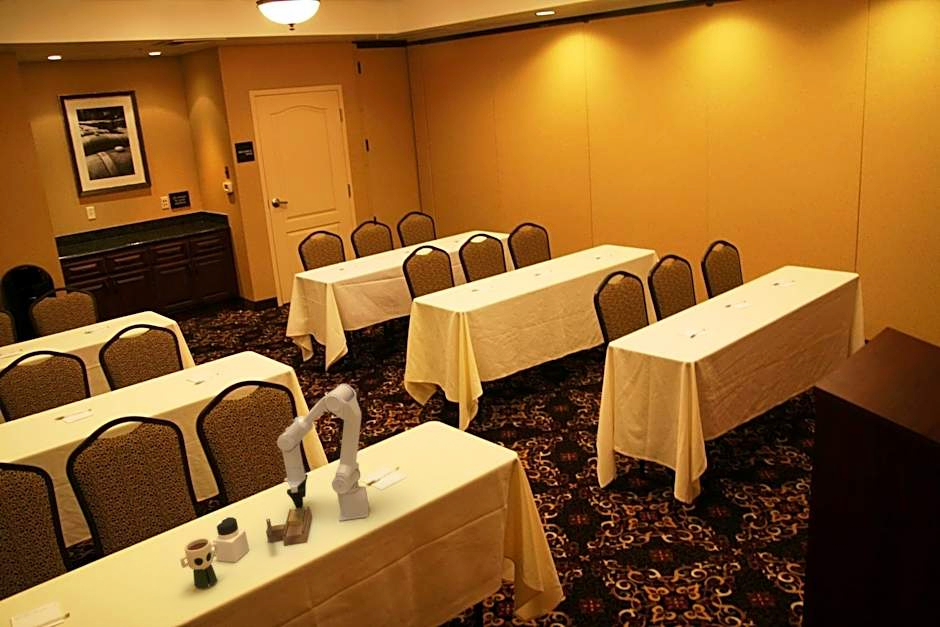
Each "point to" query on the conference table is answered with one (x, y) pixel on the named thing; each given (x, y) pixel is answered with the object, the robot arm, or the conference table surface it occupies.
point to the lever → (270, 530)
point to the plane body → (292, 531)
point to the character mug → (201, 561)
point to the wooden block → (297, 517)
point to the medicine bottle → (230, 541)
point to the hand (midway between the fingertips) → (301, 502)
